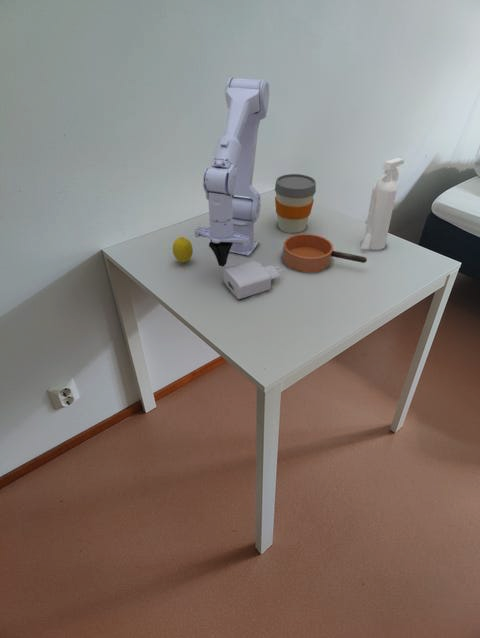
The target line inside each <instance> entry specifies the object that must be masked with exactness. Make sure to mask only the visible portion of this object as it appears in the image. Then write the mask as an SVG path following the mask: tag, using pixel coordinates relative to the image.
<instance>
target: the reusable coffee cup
mask: <svg viewBox="0 0 480 638" xmlns="http://www.w3.org/2000/svg"><path fill="white" fill-rule="evenodd" d="M316 187H317V181H316V179H315V178H313V177H312V176H309V175H306V174H299V173H287V174H283V175H281V176H279V177H277V178H276V180H275V185H274V192H275V196H274V197H275V198H274V203H275V213H276V215H277V227H278V228H279V230H281V231H282V232H285V233H290V234H296V233H301V232H304V231H305V230H306V228H307V223H308V220H309V216H310V215H311V213H312V209H313V205H314V203H315V202H314V201H315V199H314V196H315V194H316V192H317V188H316Z"/></svg>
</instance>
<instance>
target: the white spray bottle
mask: <svg viewBox="0 0 480 638" xmlns="http://www.w3.org/2000/svg"><path fill="white" fill-rule="evenodd" d="M404 162H405V158H399V157H396V158H393V159H389V160H386V161H385V160H384V162H383V166H382V170H384V171H383V174H381V176H380V177H379V178H378V179H377V181H375V182H374V183H373V185H372V190H371V195H370V197H371V198H370V201H369V202H370V203H369V208H368V214H367V220H366V227H365V231H364V238H363V241H362V243H361V245H360V248H361V249H362V250H372V251H380V250H383V249H384V248H385V247H386V243H387V239H388V234H389V228H390V225H391V220H392V215H393V211H394V206H395V200H396V195H397V191H398V190H397V189H398V188H397V182H398V180H399V178H400V177H399V175H400V173H399V170H398V168H397V167H400V166H401V165H404Z"/></svg>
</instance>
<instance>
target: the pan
mask: <svg viewBox="0 0 480 638" xmlns="http://www.w3.org/2000/svg"><path fill="white" fill-rule="evenodd" d="M329 251H330V252H329ZM332 251H334V245H333V243H332V242H331V241H330V240H329V239H327V238H326V237H324V236H322V235H317V234H313V233H299V234H295V235H291V236H289V237H287V238H286V239H285V240H284V242H283V248H282V261H283V263H284V264H285V266H287V267H288V268H290V269H291V270H294V271H296V272H300V273H318V272H322V271H324V270H326V269H328V268H329V267H330V265H331V263H332V261H333V259H332V258H333V257H332V256H331V254H332ZM328 252H329V253H328Z"/></svg>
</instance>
